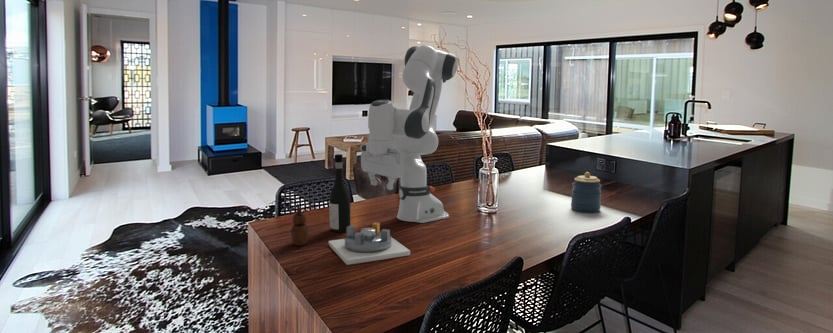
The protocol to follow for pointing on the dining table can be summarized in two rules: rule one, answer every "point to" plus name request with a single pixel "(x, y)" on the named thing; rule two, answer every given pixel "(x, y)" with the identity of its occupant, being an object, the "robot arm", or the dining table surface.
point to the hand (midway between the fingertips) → (381, 187)
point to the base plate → (357, 257)
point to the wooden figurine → (299, 228)
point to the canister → (586, 194)
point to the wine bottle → (339, 201)
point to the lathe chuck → (367, 239)
